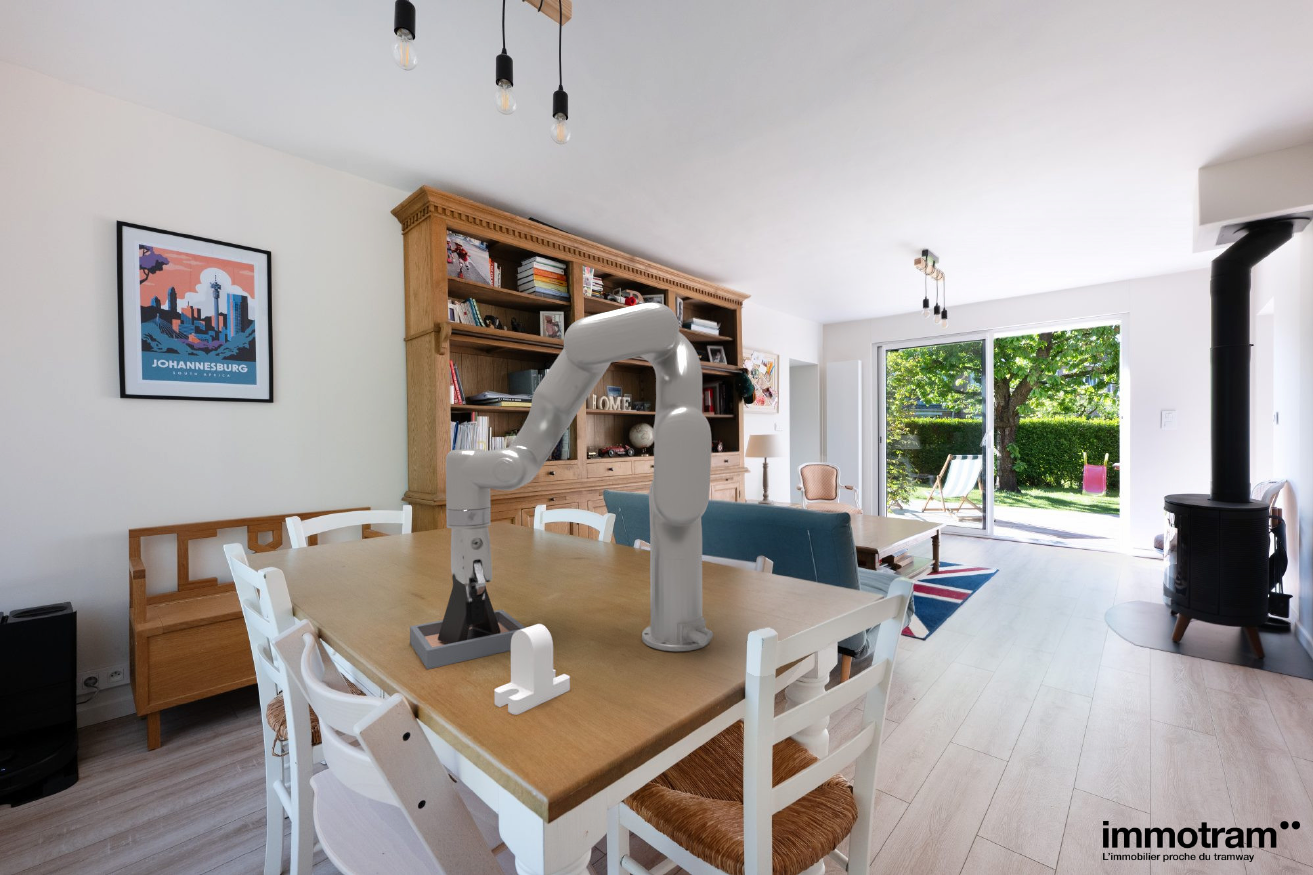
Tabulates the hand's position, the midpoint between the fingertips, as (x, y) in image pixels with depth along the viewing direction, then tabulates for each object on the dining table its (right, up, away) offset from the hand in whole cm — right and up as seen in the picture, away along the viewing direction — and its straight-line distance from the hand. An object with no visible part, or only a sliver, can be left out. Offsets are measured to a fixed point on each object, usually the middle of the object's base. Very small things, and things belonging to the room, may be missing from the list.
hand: (469, 617), depth 99 cm
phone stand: (0, -4, 0) cm, 4 cm away
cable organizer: (+16, -5, -20) cm, 26 cm away
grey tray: (0, -5, 0) cm, 5 cm away
